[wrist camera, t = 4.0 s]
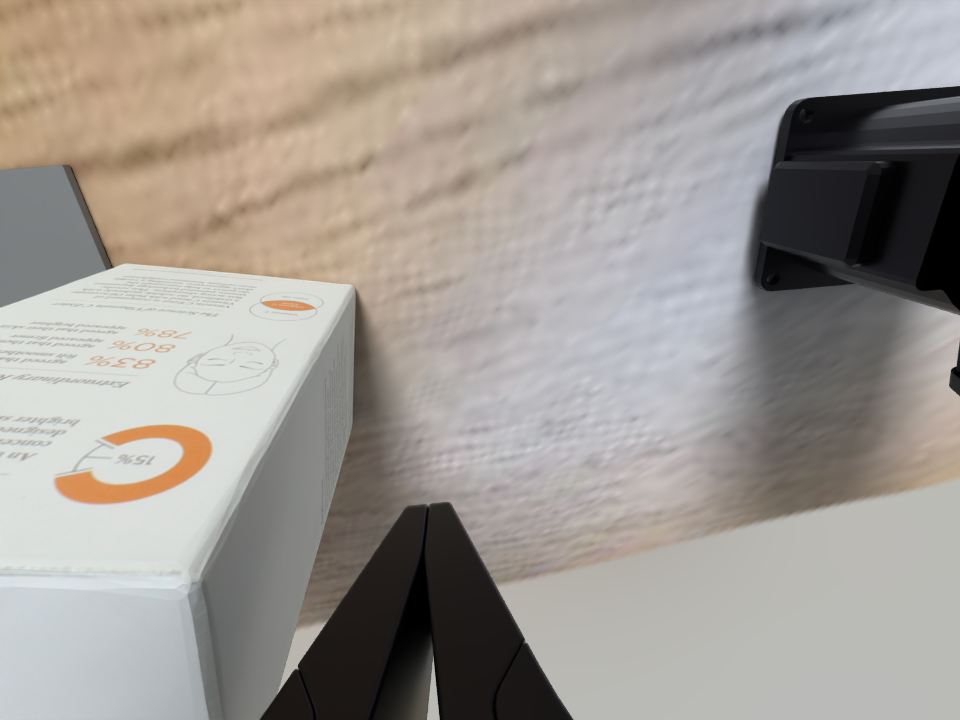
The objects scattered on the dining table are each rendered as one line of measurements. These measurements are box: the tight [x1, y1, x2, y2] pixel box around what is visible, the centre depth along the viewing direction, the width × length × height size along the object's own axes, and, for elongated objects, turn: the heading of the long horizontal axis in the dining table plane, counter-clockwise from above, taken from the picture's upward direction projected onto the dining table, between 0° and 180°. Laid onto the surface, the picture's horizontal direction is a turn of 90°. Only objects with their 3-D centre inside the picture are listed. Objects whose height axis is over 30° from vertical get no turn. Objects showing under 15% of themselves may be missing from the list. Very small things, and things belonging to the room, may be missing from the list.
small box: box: [0, 264, 356, 720], centre depth 12 cm, size 8×6×13 cm
